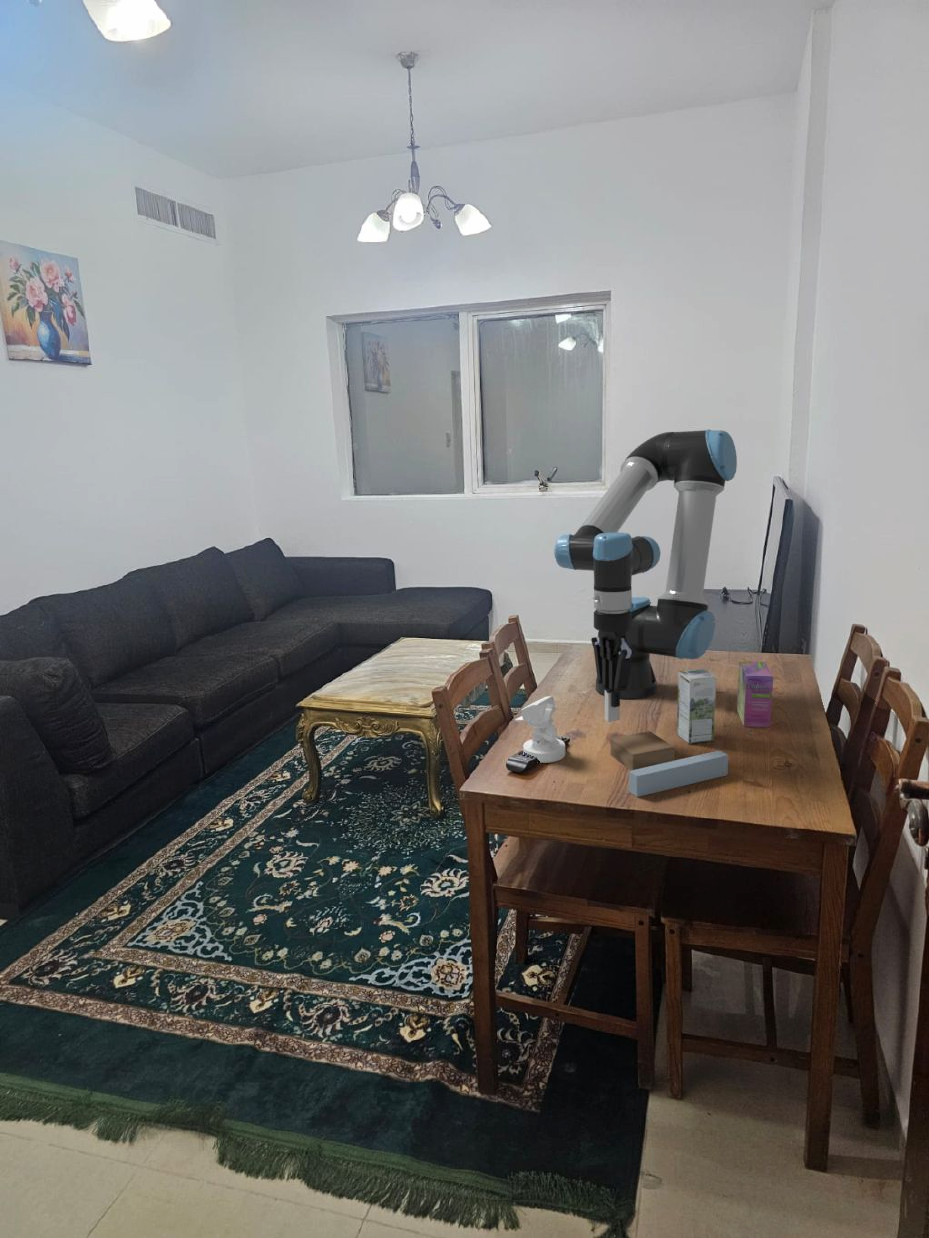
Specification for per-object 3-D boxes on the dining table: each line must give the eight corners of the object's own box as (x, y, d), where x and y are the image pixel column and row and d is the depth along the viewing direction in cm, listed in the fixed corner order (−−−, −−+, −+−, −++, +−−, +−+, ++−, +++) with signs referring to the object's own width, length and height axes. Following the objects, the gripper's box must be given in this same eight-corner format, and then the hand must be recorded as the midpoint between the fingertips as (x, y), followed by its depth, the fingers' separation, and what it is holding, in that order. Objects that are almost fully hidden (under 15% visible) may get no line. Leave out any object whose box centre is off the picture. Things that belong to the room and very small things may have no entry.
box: (771, 728, 166) (773, 675, 163) (743, 727, 167) (745, 675, 164) (763, 711, 176) (765, 661, 173) (736, 710, 177) (738, 661, 174)
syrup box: (701, 731, 166) (702, 667, 162) (714, 741, 160) (716, 675, 157) (676, 734, 165) (677, 669, 161) (688, 745, 159) (690, 677, 156)
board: (628, 791, 140) (628, 771, 139) (718, 769, 147) (719, 750, 146) (636, 797, 138) (636, 776, 137) (727, 774, 145) (728, 755, 144)
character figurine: (550, 766, 152) (549, 708, 150) (511, 756, 158) (508, 700, 155) (573, 750, 159) (572, 695, 156) (534, 741, 165) (532, 688, 162)
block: (610, 756, 156) (610, 738, 155) (649, 749, 159) (649, 731, 158) (633, 774, 148) (633, 754, 147) (674, 766, 150) (674, 746, 149)
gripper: (580, 606, 161) (580, 713, 166) (613, 617, 149) (613, 732, 154) (611, 602, 163) (610, 708, 169) (646, 613, 152) (645, 726, 157)
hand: (612, 719), depth 161 cm, fingers closed
